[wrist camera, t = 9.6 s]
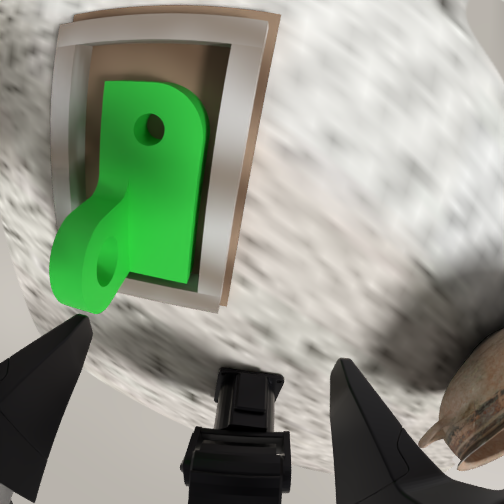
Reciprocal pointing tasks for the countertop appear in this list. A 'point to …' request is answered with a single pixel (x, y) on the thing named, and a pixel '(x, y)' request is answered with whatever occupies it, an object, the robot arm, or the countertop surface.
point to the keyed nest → (162, 70)
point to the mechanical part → (135, 196)
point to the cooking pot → (474, 407)
